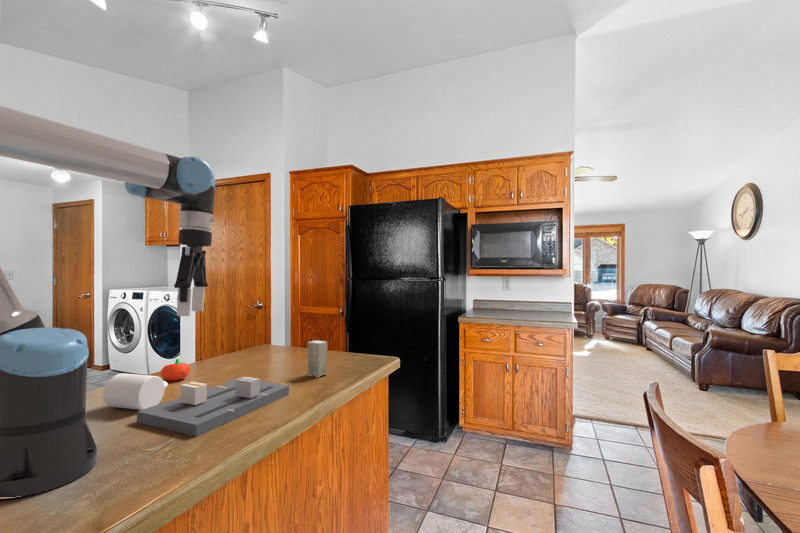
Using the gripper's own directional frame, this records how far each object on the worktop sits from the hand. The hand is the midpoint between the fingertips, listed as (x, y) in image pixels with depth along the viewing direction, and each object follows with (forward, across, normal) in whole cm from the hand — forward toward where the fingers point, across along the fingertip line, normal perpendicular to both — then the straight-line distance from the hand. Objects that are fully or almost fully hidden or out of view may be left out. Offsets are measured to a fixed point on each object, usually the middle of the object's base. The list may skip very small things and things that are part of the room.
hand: (190, 313), depth 98 cm
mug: (+24, +3, +11) cm, 26 cm away
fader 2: (+20, -4, -15) cm, 25 cm away
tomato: (+23, +25, +9) cm, 35 cm away
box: (+22, +22, -34) cm, 46 cm away
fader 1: (+20, -6, -3) cm, 21 cm away
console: (+23, -3, -9) cm, 25 cm away
